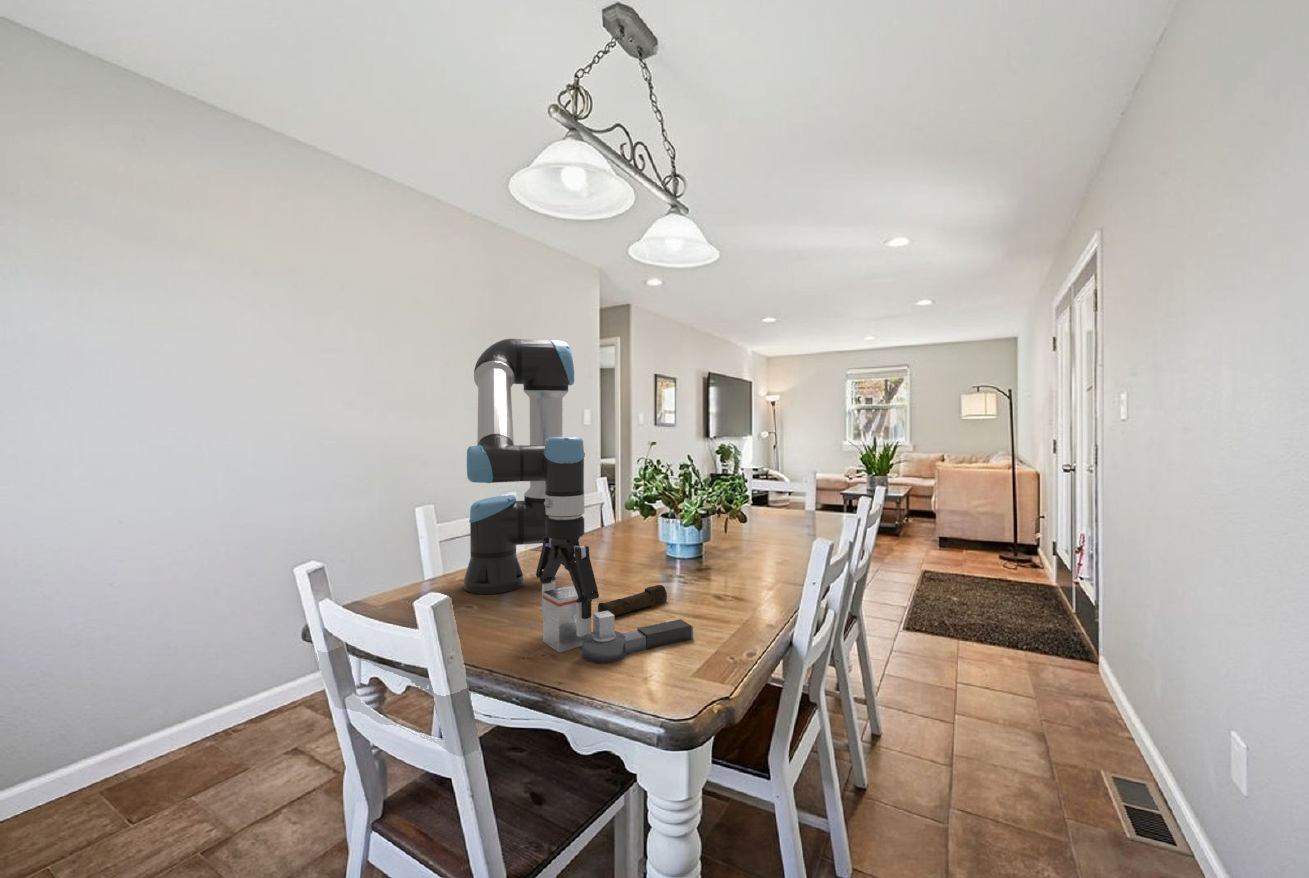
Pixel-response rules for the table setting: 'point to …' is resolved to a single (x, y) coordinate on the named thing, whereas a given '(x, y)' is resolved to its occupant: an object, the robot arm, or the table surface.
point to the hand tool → (636, 601)
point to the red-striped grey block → (560, 619)
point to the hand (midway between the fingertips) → (565, 624)
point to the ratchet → (629, 638)
